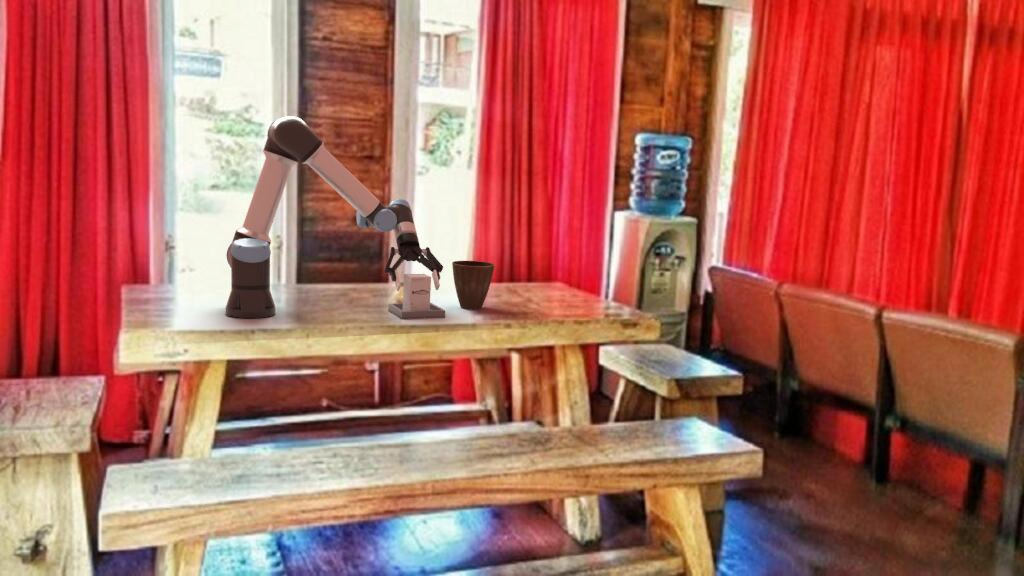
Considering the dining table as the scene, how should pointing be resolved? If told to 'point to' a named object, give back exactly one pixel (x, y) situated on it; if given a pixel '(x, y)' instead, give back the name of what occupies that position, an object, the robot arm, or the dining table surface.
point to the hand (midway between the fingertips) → (418, 288)
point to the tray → (416, 312)
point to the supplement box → (416, 292)
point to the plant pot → (472, 282)
